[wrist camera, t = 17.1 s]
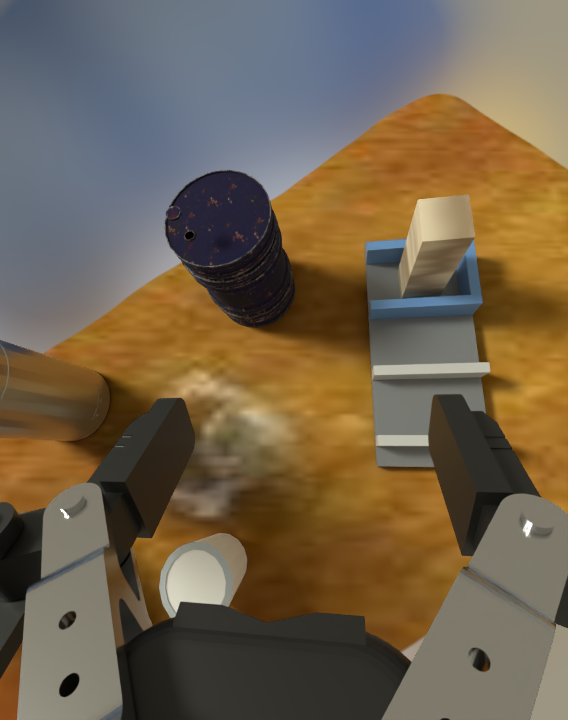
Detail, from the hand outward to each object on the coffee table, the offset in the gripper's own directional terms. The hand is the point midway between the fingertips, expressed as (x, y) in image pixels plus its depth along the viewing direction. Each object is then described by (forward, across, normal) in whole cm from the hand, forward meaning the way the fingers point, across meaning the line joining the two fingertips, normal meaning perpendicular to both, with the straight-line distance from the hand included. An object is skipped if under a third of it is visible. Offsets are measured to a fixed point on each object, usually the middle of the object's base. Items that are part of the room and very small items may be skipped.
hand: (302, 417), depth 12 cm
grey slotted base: (+28, -10, +13) cm, 32 cm away
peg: (+32, -10, +7) cm, 34 cm away
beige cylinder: (+12, +12, +29) cm, 34 cm away
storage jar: (+34, +9, +7) cm, 36 cm away
